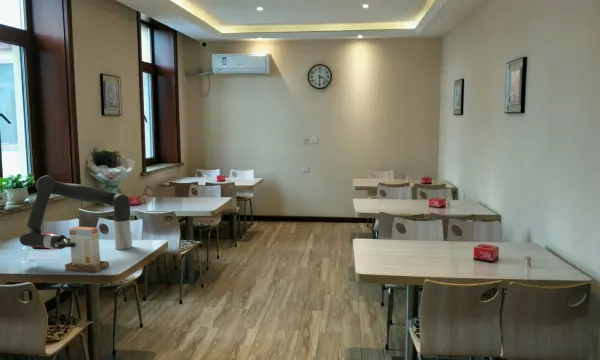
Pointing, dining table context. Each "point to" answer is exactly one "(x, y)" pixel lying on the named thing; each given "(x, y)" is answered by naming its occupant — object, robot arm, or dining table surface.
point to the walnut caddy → (87, 267)
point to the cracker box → (85, 246)
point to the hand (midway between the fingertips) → (80, 243)
